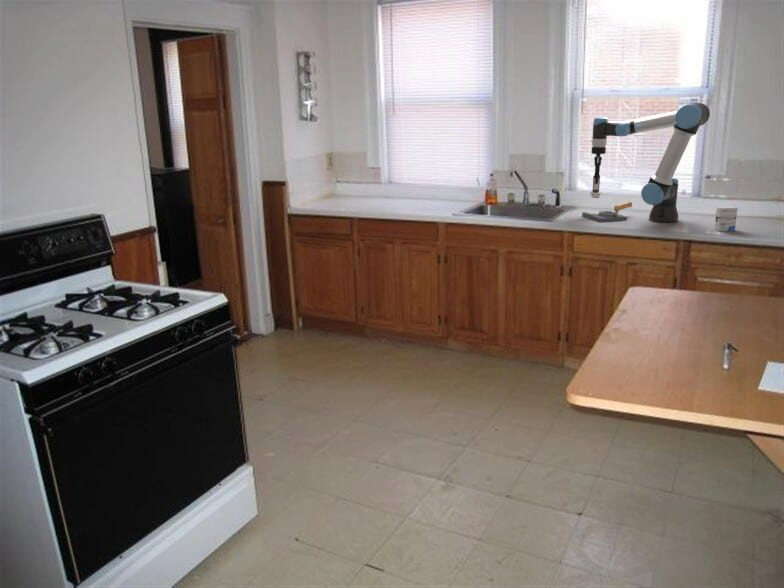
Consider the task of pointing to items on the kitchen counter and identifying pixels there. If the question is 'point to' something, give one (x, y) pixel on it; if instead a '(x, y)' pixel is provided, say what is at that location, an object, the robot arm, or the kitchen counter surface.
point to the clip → (622, 206)
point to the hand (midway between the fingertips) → (595, 188)
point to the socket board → (604, 216)
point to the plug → (595, 191)
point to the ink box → (725, 218)
